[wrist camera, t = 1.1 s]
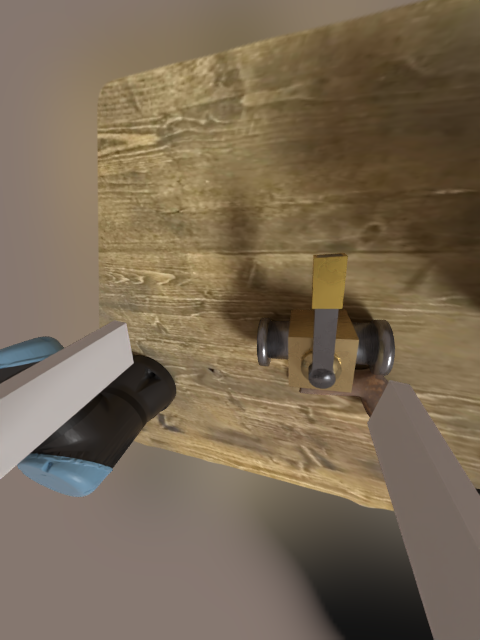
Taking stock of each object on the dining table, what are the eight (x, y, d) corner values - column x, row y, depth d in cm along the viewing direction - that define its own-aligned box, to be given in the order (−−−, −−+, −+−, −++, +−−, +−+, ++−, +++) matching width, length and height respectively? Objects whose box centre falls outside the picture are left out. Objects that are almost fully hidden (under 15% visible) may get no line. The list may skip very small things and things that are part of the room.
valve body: (266, 349, 39) (256, 386, 31) (264, 309, 36) (251, 338, 27) (371, 355, 34) (393, 401, 26) (379, 310, 31) (407, 345, 23)
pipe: (294, 383, 35) (305, 434, 37) (417, 377, 29) (421, 438, 31) (297, 365, 41) (306, 410, 43) (399, 357, 35) (404, 409, 37)
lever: (332, 380, 27) (334, 391, 25) (307, 378, 28) (308, 388, 26) (345, 253, 20) (349, 256, 19) (312, 255, 21) (313, 258, 20)
